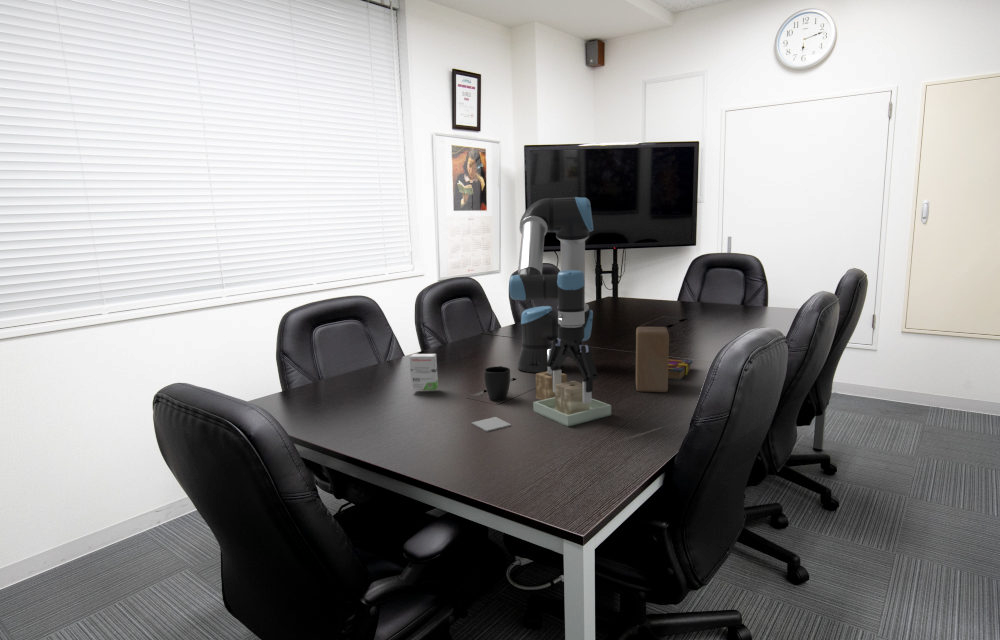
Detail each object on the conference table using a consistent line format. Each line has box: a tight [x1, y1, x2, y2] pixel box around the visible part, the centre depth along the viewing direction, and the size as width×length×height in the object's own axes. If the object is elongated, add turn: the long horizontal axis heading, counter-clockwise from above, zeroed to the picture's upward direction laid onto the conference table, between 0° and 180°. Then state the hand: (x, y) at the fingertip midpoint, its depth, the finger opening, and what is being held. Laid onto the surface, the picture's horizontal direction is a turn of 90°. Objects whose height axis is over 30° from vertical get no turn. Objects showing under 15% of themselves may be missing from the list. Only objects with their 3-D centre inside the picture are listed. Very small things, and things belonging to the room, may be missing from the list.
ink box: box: [409, 353, 439, 391], centre depth 204 cm, size 9×5×12 cm, turn 85°
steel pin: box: [547, 349, 553, 376], centre depth 187 cm, size 2×2×16 cm
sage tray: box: [532, 397, 612, 428], centre depth 174 cm, size 16×16×3 cm
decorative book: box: [668, 358, 693, 381], centre depth 213 cm, size 11×16×5 cm
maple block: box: [555, 380, 589, 415], centre depth 173 cm, size 7×7×8 cm
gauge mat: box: [471, 416, 512, 433], centre depth 166 cm, size 8×8×1 cm
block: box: [635, 326, 670, 393], centre depth 195 cm, size 10×10×20 cm
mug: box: [483, 365, 511, 402], centre depth 192 cm, size 8×12×10 cm
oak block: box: [535, 371, 568, 401], centre depth 188 cm, size 7×7×8 cm
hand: (571, 396), depth 173 cm, fingers open, 13 cm apart
